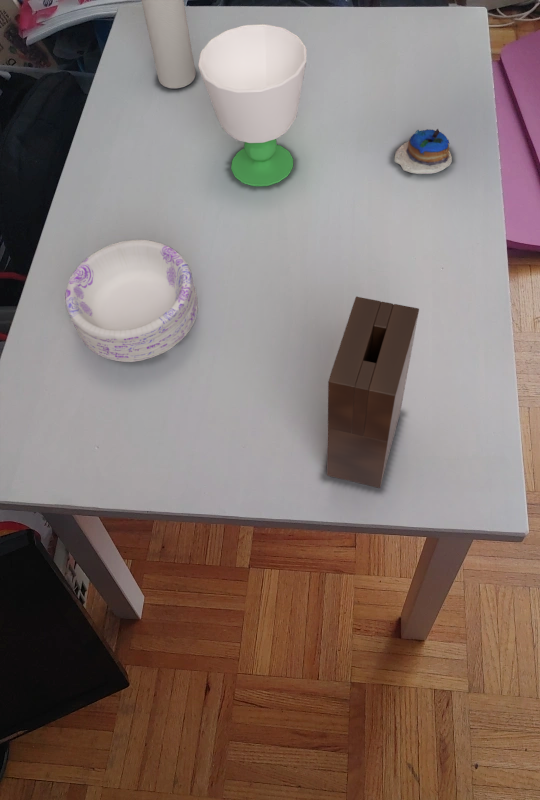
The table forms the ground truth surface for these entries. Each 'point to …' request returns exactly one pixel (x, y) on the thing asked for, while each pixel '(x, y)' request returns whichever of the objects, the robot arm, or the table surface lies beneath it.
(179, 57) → the paper towel roll
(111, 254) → the paper bowls
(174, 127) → the table surface
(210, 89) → the cup
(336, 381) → the knife block
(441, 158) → the dessert
